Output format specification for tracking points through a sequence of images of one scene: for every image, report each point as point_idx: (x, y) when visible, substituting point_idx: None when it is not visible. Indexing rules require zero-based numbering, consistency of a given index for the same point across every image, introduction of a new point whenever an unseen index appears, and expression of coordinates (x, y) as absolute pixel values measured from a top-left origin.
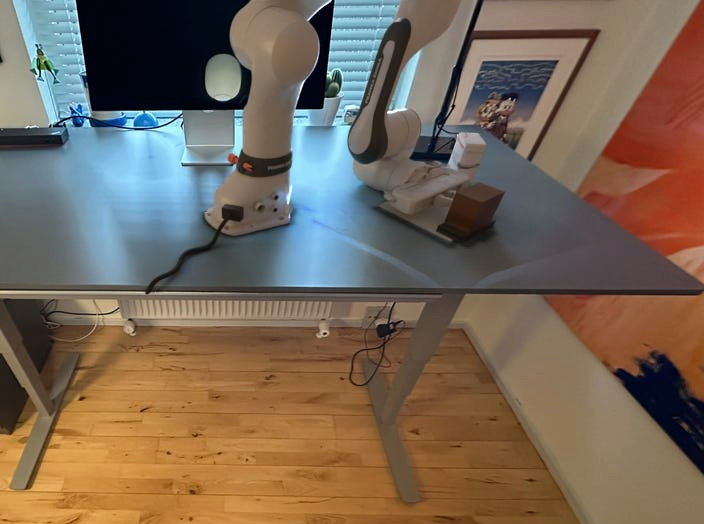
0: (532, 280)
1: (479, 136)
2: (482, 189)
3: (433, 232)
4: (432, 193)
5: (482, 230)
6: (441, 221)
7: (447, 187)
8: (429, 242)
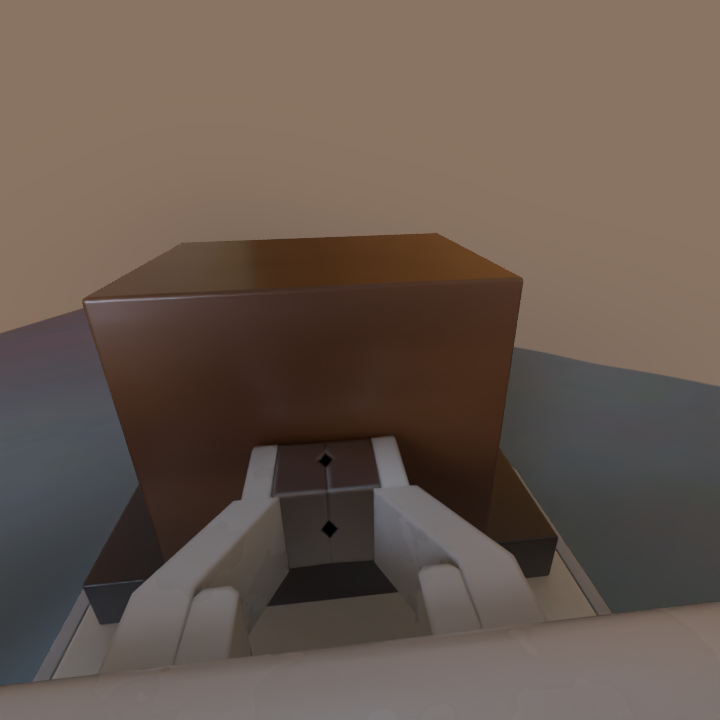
0: None
1: None
2: (260, 260)
3: (574, 575)
4: (713, 613)
5: None
6: None
7: (197, 674)
8: (617, 554)
